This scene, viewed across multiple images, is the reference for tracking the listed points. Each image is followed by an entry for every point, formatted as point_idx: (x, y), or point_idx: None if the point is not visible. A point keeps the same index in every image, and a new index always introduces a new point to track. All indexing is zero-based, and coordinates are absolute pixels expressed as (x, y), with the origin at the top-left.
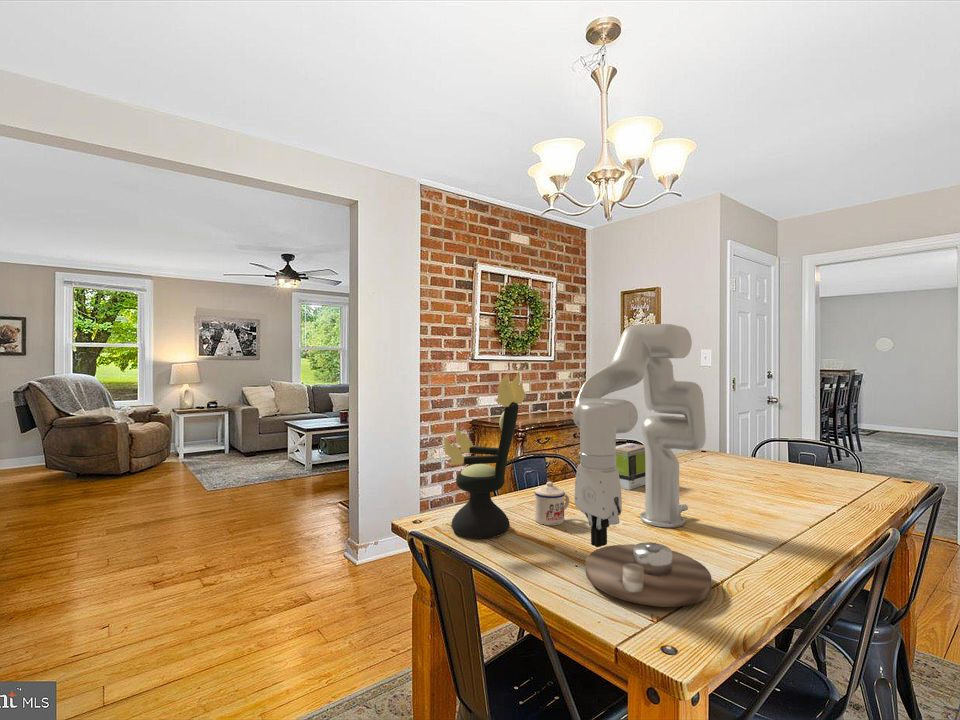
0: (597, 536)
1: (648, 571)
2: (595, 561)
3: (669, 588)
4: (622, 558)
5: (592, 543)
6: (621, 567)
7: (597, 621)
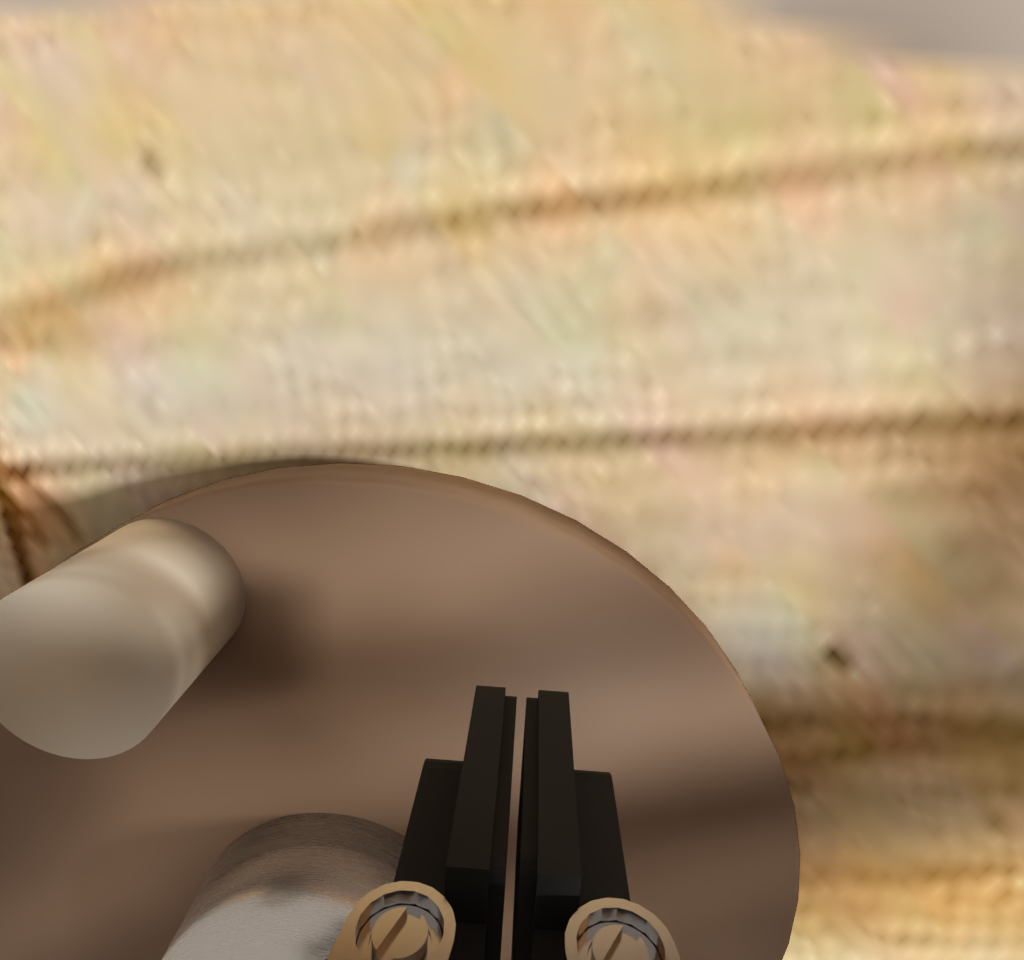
0: (458, 791)
1: (258, 839)
2: (657, 708)
3: (49, 765)
4: None
5: (544, 700)
6: None
7: (160, 157)
